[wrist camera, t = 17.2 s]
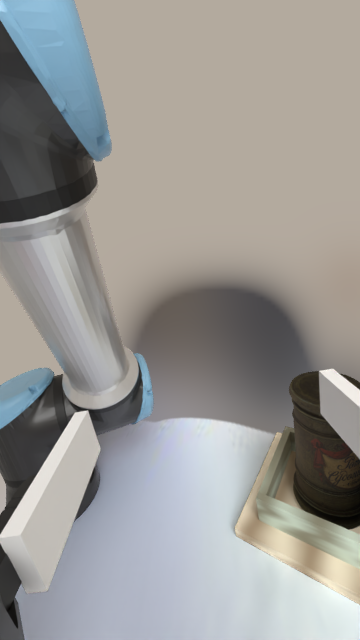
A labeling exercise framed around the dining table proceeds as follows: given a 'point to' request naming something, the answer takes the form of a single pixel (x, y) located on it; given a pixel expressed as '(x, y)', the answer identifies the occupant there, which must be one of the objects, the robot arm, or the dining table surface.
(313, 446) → the container
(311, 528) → the collar board
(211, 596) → the dining table surface
